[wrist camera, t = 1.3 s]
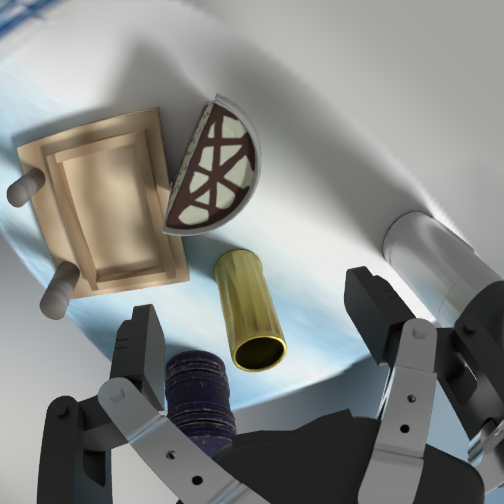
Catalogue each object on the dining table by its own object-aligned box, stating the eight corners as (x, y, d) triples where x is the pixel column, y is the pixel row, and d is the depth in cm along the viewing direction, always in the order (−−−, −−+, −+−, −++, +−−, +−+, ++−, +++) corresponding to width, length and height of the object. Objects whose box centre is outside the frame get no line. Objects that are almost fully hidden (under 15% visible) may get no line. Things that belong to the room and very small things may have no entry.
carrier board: (158, 107, 30) (146, 117, 22) (189, 271, 40) (191, 320, 32) (24, 143, 28) (-17, 167, 20) (74, 289, 38) (56, 337, 31)
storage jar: (160, 382, 50) (160, 461, 37) (171, 345, 46) (173, 432, 33) (216, 390, 53) (227, 465, 41) (234, 355, 49) (250, 437, 37)
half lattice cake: (218, 212, 37) (228, 259, 28) (167, 195, 35) (160, 238, 26) (265, 112, 32) (293, 127, 23) (211, 89, 30) (218, 94, 21)
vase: (222, 295, 43) (237, 381, 31) (207, 257, 39) (217, 343, 27) (266, 281, 43) (296, 364, 31) (255, 242, 40) (285, 323, 28)
